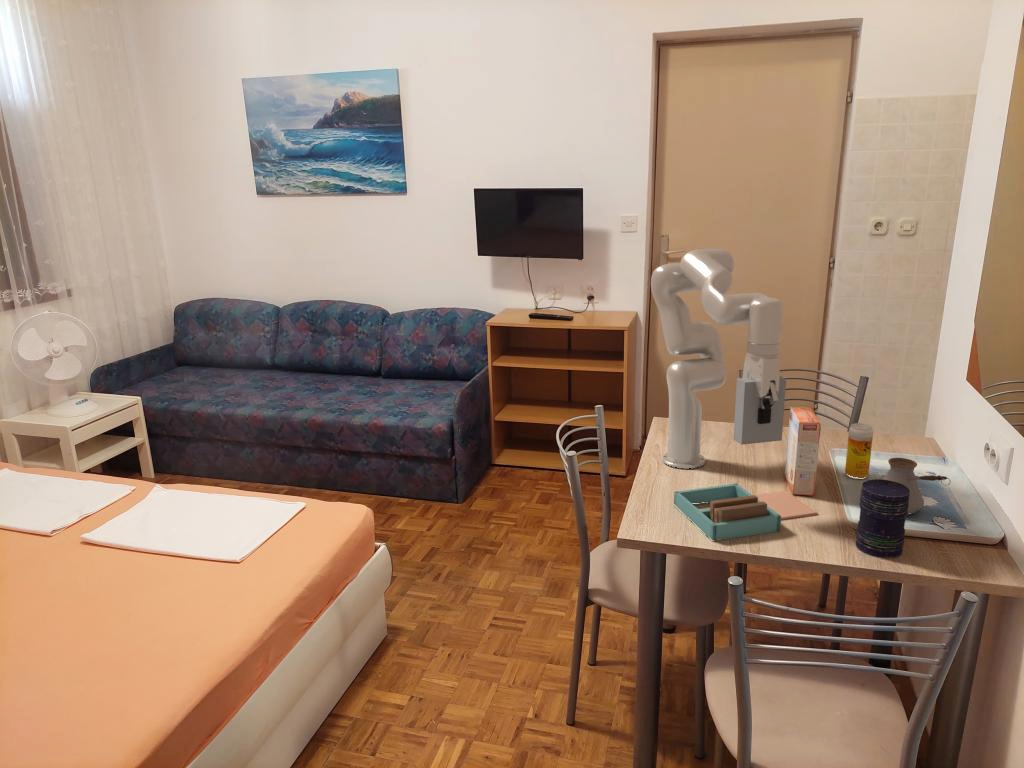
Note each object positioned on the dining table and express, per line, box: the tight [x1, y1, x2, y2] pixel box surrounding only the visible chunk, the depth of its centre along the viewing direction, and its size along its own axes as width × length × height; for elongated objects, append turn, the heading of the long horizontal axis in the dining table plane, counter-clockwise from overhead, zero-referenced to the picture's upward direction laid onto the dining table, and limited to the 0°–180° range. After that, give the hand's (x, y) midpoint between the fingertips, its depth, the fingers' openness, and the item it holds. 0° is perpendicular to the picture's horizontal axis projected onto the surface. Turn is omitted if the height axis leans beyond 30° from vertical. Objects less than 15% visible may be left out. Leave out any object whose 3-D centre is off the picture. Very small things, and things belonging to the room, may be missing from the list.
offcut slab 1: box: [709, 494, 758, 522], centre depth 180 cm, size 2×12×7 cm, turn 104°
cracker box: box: [784, 406, 822, 497], centre depth 199 cm, size 14×6×21 cm, turn 168°
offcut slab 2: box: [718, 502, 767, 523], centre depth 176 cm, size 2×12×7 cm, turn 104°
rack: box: [673, 483, 782, 541], centre depth 184 cm, size 20×18×4 cm
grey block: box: [733, 375, 787, 446], centre depth 182 cm, size 4×11×16 cm, turn 102°
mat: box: [754, 490, 818, 521], centre depth 190 cm, size 14×13×1 cm
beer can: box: [844, 422, 874, 478], centre depth 205 cm, size 6×6×15 cm
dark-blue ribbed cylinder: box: [855, 479, 910, 559], centre depth 166 cm, size 10×10×15 cm
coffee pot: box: [882, 457, 951, 514], centre depth 180 cm, size 21×12×15 cm, turn 8°
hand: (758, 419), depth 183 cm, fingers closed on grey block, 4 cm apart
